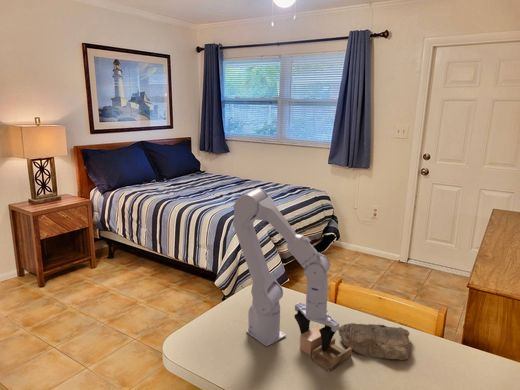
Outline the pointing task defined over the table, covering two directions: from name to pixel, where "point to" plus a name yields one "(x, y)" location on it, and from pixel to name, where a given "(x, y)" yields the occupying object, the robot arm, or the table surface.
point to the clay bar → (310, 340)
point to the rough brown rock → (376, 340)
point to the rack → (331, 356)
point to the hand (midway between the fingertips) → (315, 342)
